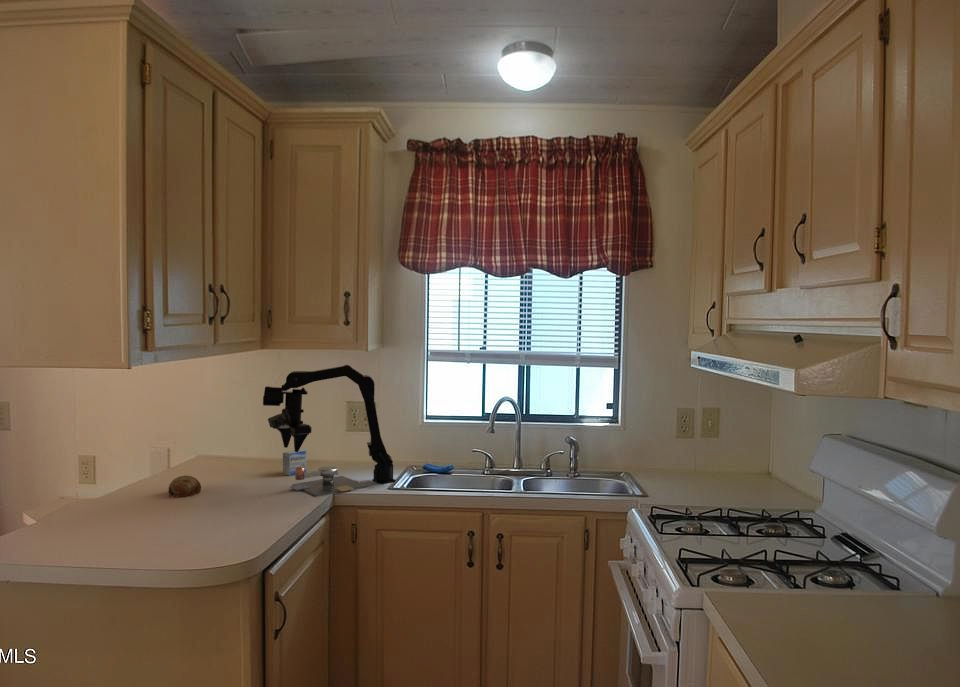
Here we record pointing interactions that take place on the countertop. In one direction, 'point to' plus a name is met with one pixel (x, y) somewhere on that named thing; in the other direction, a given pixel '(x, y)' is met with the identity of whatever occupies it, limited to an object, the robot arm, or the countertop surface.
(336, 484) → the post base
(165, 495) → the countertop surface
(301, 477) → the collar lever
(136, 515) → the countertop surface
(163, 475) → the countertop surface
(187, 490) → the bread roll
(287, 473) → the medicine box
